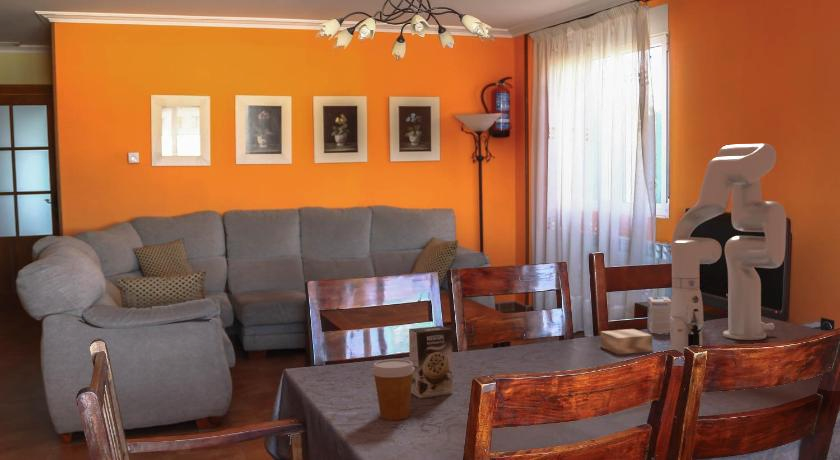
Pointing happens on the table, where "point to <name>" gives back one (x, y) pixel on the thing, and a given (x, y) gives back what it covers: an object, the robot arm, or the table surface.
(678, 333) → the small box
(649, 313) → the light bulb box
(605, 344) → the oak block
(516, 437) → the table surface
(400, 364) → the disposable coffee cup
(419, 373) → the cookie box
